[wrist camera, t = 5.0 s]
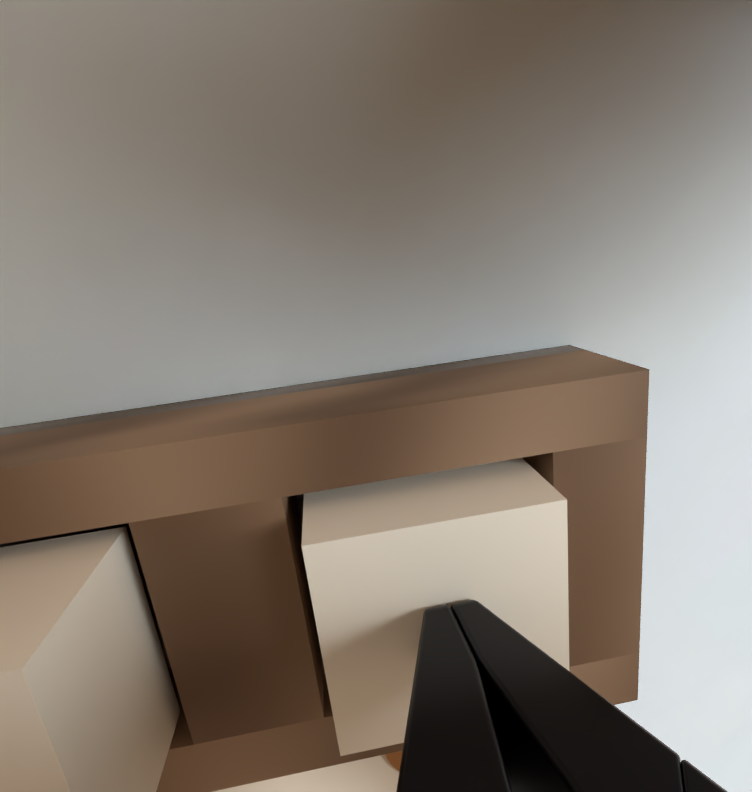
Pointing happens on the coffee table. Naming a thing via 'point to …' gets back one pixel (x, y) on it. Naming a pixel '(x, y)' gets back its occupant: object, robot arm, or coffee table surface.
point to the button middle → (80, 669)
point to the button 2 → (427, 578)
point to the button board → (282, 533)
